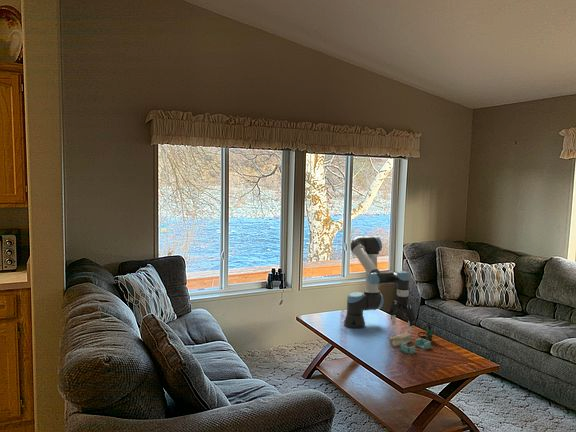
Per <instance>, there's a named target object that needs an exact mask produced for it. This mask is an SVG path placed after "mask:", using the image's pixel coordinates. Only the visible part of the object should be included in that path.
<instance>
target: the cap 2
mask: <svg viewBox="0 0 576 432" xmlns="http://www.w3.org/2000/svg"><path fill="white" fill-rule="evenodd" d="M415 347H418V348H420V349H422V350H429V349H431V348H432V342H430V341H428V339H427V340H425V339H422V338H421V337H420V338H417V339H415Z"/></svg>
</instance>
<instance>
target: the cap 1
mask: <svg viewBox="0 0 576 432" xmlns="http://www.w3.org/2000/svg"><path fill="white" fill-rule="evenodd" d="M399 352H402V353H405V354H407V355H412V354H415V353H416V345H412V346H408V343H403V344H400V345H399Z"/></svg>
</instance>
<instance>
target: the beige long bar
mask: <svg viewBox="0 0 576 432" xmlns="http://www.w3.org/2000/svg"><path fill="white" fill-rule="evenodd" d="M411 341H412V334H411V333H408V332H404V333H401V334H398V335H394V336H391V337H389V345H390V346H391V347H398V346H399V347H400V344H403V343H407V344H408V343H411Z"/></svg>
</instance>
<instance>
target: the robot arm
mask: <svg viewBox="0 0 576 432" xmlns="http://www.w3.org/2000/svg"><path fill="white" fill-rule="evenodd" d="M349 247H350V251H351V253H352V255H353V256H355V257H356V258H357V260H358V261H359V262H360V264H361V266H362V267H363V269H364V270H365V290H364V291H363V292H360V291H353V292H351V293H349V294H348V295H347V297H346V298H347V299H346V316H345V318H344V321H343V325H344V326H345V327H347V328H351V329H362V328H364V327H366V322H365V317H364V311H375V310H380V309H381V308H382V307H383V306H384V305H383V304H384V296H383V294H382V293H381V290H379V286H378V285H387V284H388V285H389V284H390V285H391V284H395V285H396V299H395V300H392V304H391V307H390V308H389V311H388V314H390V316H391V317H390V320H391V326H395V325H396V317H397V316H396V314H397V312H398V311H400V310H401V311H403V312H404V314H405V315H406V317H407V319H408V321H407V331H408V332H412V331H413V330H412V328H413V325H414V322H415V321H416V320H417V319H416V316H415V313H414V310H413V305H412V304H408V303H409V293H410V291H409V289H410V273H409V272H408V271H405V270H399V271H394V270H389V271H387V272H383V271H382V272H381V271H380V270H379V268H378V256H379V255H380V253H381V251H382V249H383V244H382V240H381V238H380V237H379V236H377V235H359V236H356V237H354V238H353V239H352V241H351V242H350V246H349Z"/></svg>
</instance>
